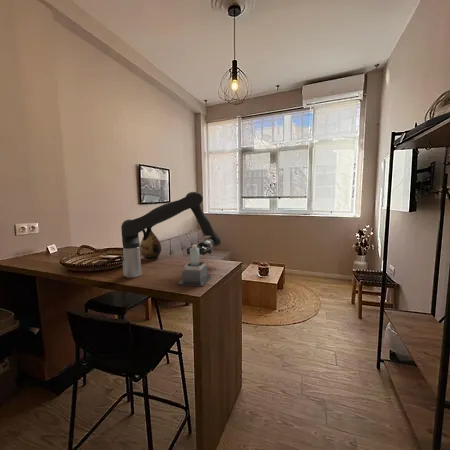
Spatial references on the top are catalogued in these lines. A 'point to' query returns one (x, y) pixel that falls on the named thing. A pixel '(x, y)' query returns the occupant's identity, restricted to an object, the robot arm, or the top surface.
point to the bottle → (194, 256)
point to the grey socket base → (195, 275)
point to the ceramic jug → (150, 245)
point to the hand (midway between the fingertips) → (195, 253)
